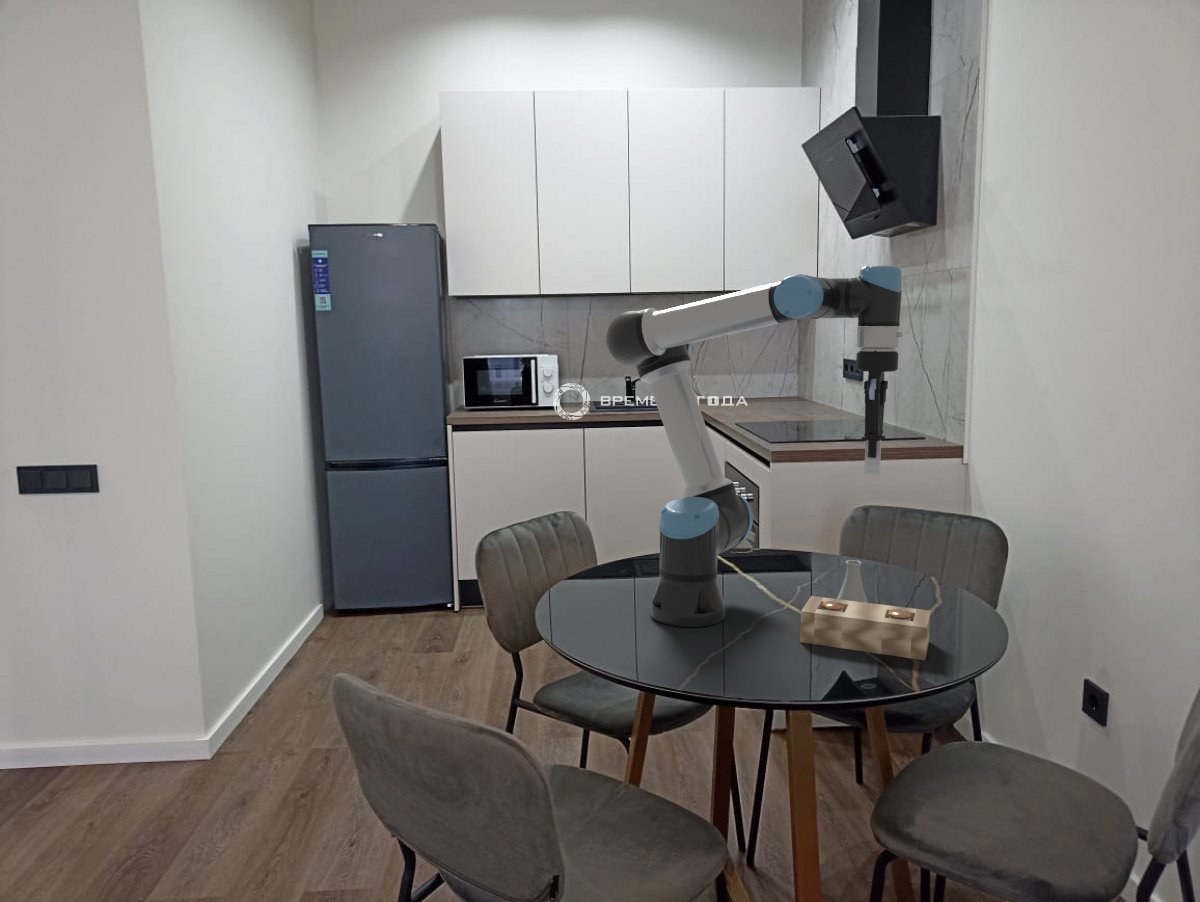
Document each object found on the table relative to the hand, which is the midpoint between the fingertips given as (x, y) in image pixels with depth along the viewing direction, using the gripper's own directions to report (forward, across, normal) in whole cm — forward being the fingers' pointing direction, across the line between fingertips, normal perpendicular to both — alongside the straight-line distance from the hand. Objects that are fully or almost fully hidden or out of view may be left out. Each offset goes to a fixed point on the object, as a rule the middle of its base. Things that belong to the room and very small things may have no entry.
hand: (872, 473), depth 166 cm
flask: (+31, +10, +4) cm, 33 cm away
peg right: (+30, -9, -7) cm, 32 cm away
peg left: (+30, -9, +5) cm, 32 cm away
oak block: (+30, -9, -1) cm, 32 cm away
